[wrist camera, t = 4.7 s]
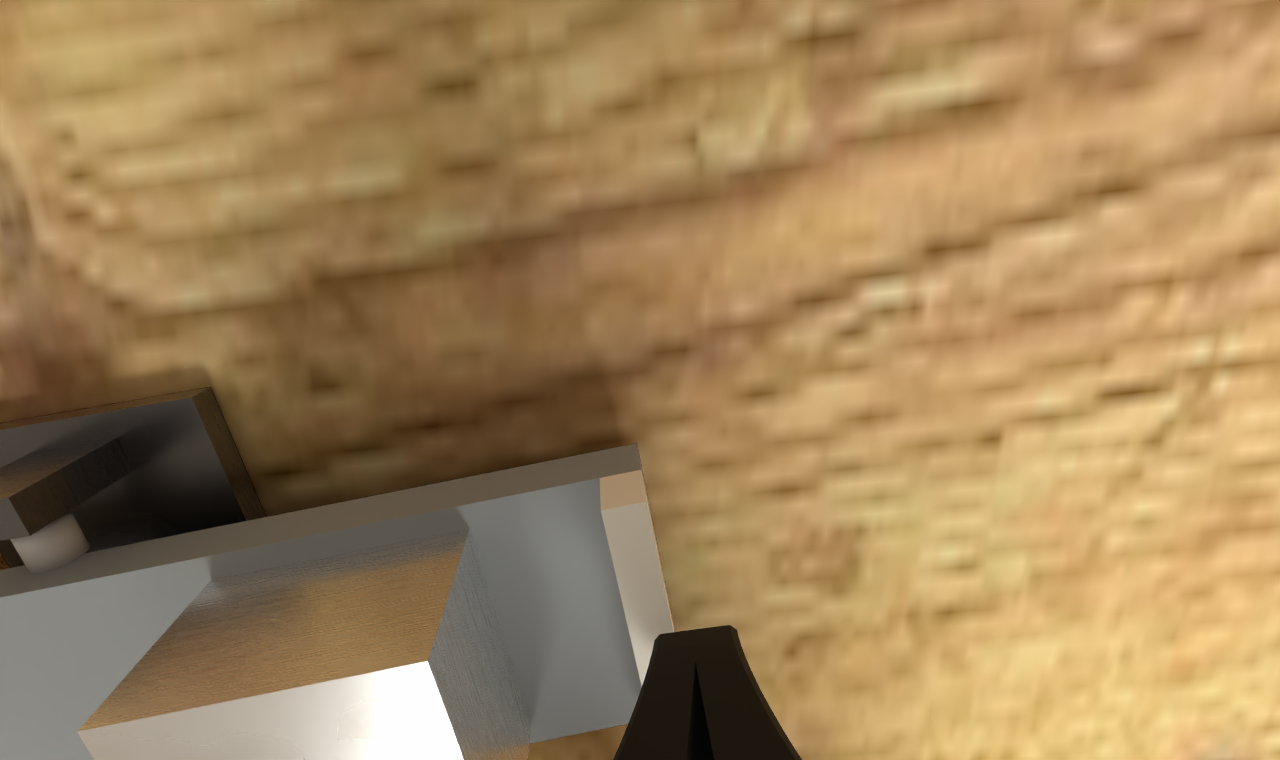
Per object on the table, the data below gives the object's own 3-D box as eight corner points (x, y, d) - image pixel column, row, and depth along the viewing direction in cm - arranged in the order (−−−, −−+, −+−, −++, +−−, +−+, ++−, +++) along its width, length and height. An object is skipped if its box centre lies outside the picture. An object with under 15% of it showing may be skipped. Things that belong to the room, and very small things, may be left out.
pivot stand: (210, 386, 14) (95, 450, 11) (371, 760, 18) (315, 881, 15) (-39, 430, 15) (-209, 501, 12) (166, 784, 18) (75, 905, 16)
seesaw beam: (628, 398, 14) (638, 459, 11) (685, 681, 16) (705, 787, 14) (-517, 626, 14) (-794, 745, 11) (-280, 876, 16) (-457, 1024, 13)
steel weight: (469, 527, 13) (427, 660, 9) (531, 725, 14) (514, 897, 11) (211, 579, 13) (76, 731, 9) (302, 771, 14) (216, 958, 11)
